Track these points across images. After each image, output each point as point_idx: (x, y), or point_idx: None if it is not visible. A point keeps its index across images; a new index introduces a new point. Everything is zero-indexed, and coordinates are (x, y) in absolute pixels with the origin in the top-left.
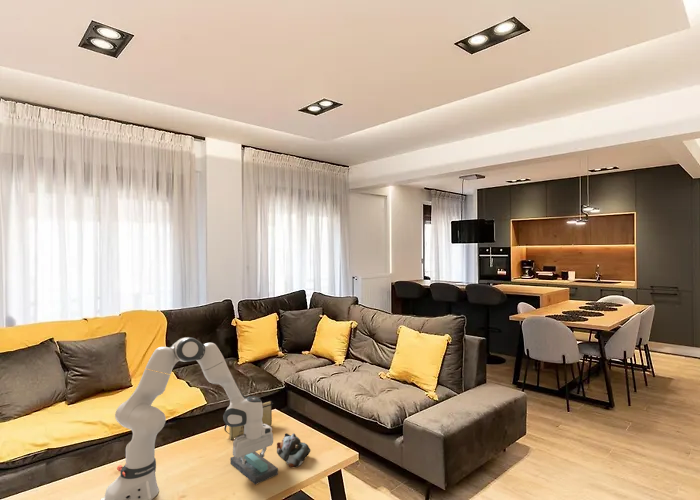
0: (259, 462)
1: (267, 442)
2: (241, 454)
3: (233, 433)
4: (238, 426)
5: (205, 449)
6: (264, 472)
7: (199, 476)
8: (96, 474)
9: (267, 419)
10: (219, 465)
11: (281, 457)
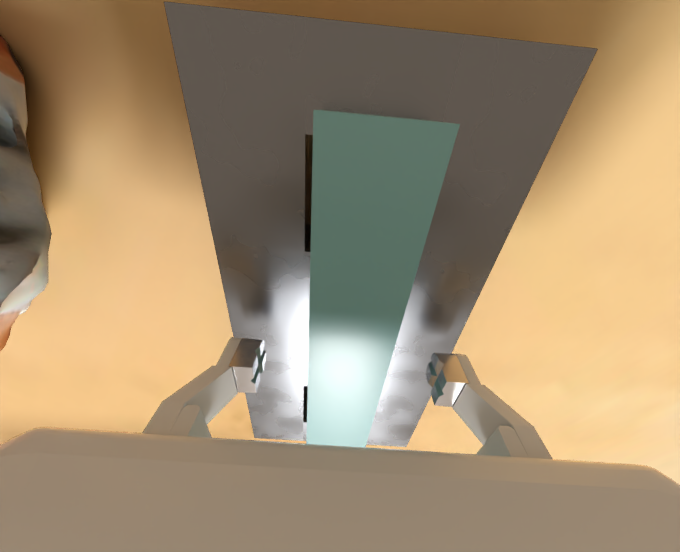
0: (367, 265)
1: (45, 541)
2: (631, 510)
3: None
4: None
5: None
6: (398, 76)
7: (571, 417)
8: None
9: None
10: (442, 425)
11: (25, 189)
